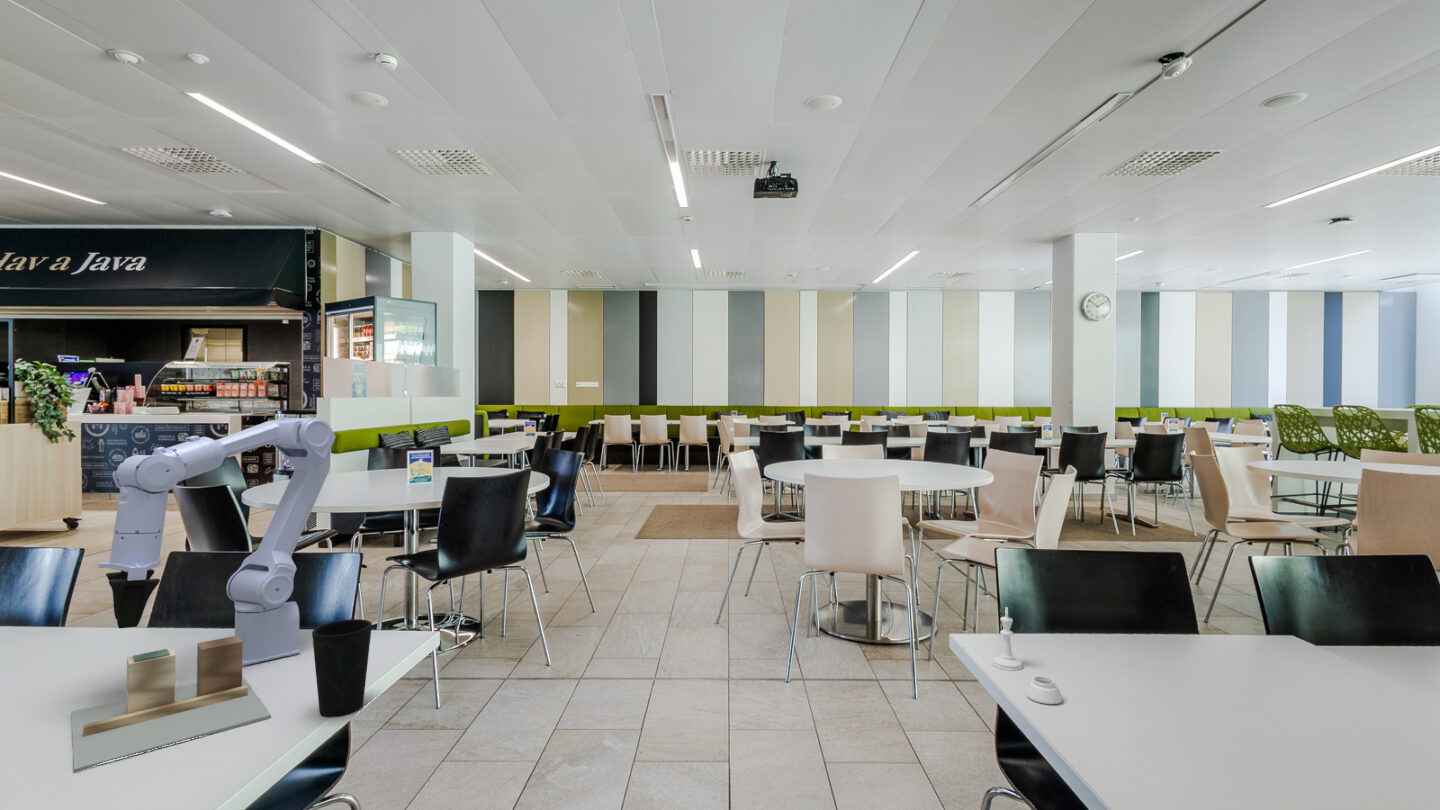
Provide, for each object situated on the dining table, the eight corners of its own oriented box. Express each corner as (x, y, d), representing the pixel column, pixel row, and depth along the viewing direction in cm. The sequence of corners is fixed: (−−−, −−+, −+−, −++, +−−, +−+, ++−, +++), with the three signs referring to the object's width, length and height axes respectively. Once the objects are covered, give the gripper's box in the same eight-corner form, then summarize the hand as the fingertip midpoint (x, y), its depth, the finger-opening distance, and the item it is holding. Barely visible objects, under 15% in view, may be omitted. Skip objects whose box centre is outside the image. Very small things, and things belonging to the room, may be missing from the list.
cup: (382, 701, 98) (383, 622, 98) (338, 724, 91) (339, 638, 91) (344, 694, 100) (345, 617, 101) (298, 715, 93) (299, 632, 93)
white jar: (1018, 693, 101) (1039, 707, 96) (1018, 674, 101) (1039, 687, 96) (1047, 691, 102) (1069, 705, 97) (1047, 672, 102) (1069, 685, 97)
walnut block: (236, 685, 102) (237, 635, 103) (241, 693, 100) (242, 641, 100) (196, 695, 99) (197, 643, 99) (200, 703, 96) (201, 649, 96)
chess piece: (991, 668, 111) (991, 609, 111) (991, 658, 115) (991, 602, 116) (1023, 672, 109) (1022, 613, 109) (1021, 662, 113) (1021, 605, 114)
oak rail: (246, 693, 100) (246, 685, 100) (247, 695, 99) (247, 687, 99) (83, 733, 87) (83, 724, 87) (83, 736, 86) (83, 727, 86)
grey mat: (240, 675, 108) (240, 672, 108) (270, 717, 92) (270, 714, 92) (71, 714, 93) (71, 711, 93) (73, 772, 78) (73, 769, 78)
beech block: (171, 701, 97) (172, 646, 97) (174, 710, 94) (175, 653, 94) (125, 712, 93) (127, 655, 93) (128, 721, 90) (129, 663, 91)
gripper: (101, 529, 102) (88, 617, 100) (105, 537, 92) (91, 635, 90) (159, 528, 107) (148, 612, 105) (170, 535, 97) (157, 628, 95)
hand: (126, 622), depth 98 cm, fingers open, 7 cm apart
